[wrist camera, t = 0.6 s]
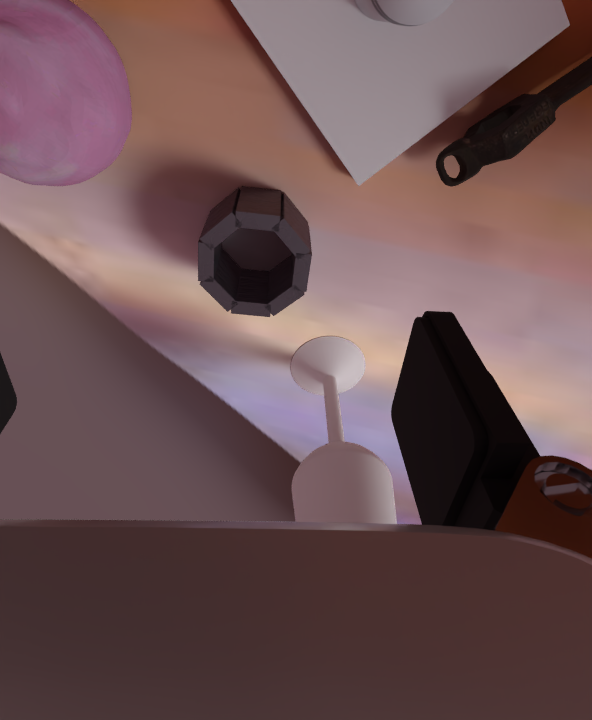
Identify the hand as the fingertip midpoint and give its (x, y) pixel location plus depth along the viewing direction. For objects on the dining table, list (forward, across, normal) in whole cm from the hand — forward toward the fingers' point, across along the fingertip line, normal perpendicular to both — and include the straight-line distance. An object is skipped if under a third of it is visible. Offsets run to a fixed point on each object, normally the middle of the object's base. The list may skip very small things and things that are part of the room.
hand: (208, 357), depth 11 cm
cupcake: (+25, +10, -2) cm, 27 cm away
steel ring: (+25, -1, +7) cm, 26 cm away
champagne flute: (+25, -7, +19) cm, 32 cm away
